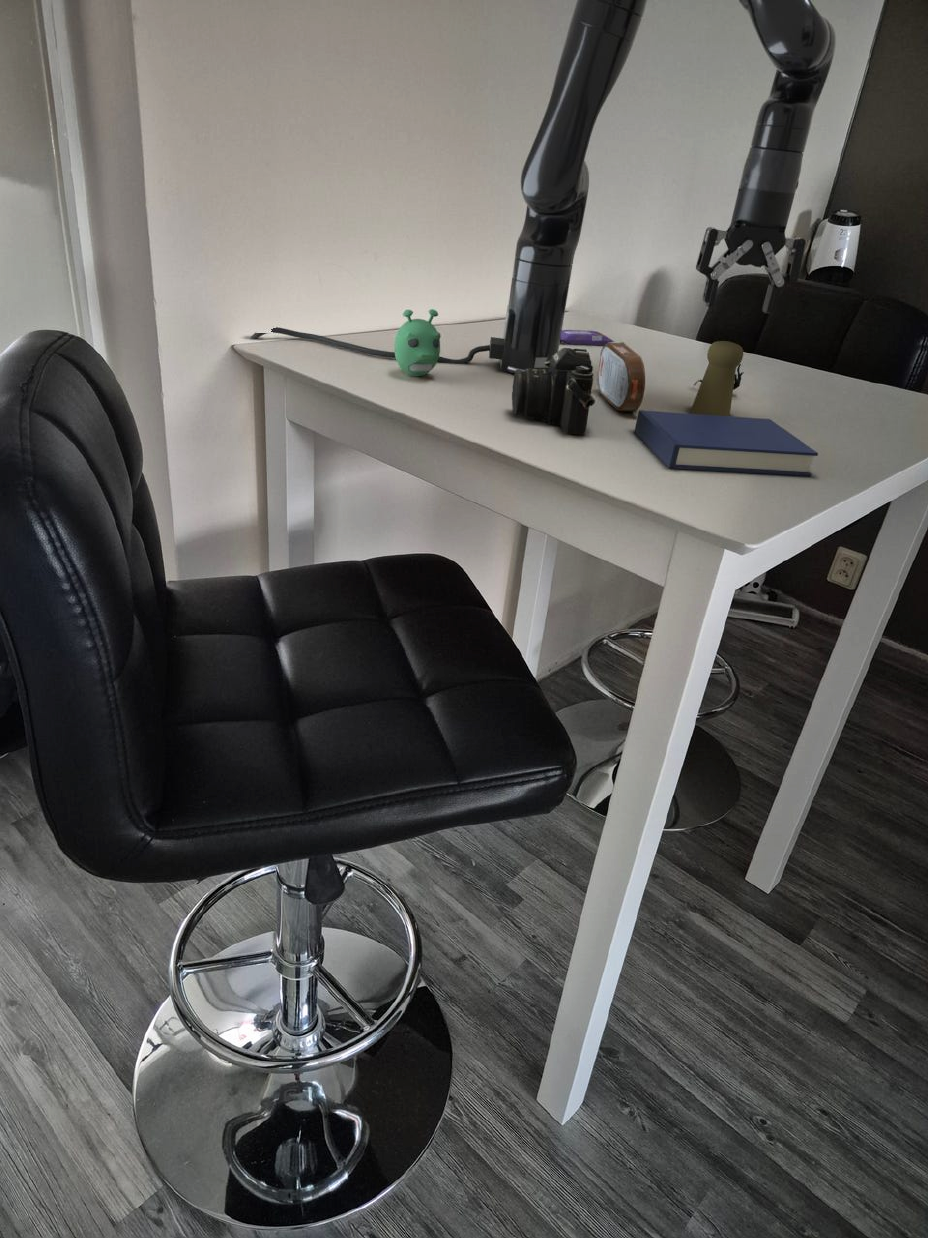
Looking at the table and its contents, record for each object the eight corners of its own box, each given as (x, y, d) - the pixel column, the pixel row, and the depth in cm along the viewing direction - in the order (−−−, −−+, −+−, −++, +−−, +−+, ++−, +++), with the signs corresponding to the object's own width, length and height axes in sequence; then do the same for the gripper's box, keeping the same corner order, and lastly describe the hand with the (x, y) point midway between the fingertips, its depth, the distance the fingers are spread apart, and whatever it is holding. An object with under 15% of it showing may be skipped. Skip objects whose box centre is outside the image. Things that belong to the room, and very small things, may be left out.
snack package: (562, 334, 166) (551, 328, 170) (560, 344, 167) (550, 338, 171) (616, 336, 170) (604, 330, 174) (614, 346, 171) (602, 340, 175)
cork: (706, 421, 133) (725, 347, 127) (682, 408, 138) (699, 337, 132) (737, 420, 135) (757, 347, 130) (713, 408, 140) (731, 337, 135)
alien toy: (403, 383, 132) (408, 314, 127) (386, 369, 138) (390, 302, 133) (446, 383, 135) (453, 315, 130) (427, 369, 141) (433, 304, 136)
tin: (640, 419, 130) (652, 362, 126) (620, 418, 129) (632, 360, 125) (609, 389, 143) (619, 336, 138) (590, 388, 142) (600, 335, 138)
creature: (693, 401, 146) (743, 399, 145) (694, 369, 144) (745, 365, 142) (692, 390, 153) (740, 387, 151) (692, 358, 151) (741, 355, 149)
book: (668, 468, 112) (674, 444, 110) (633, 432, 124) (638, 409, 122) (810, 476, 116) (818, 453, 114) (763, 440, 128) (770, 418, 126)
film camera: (486, 398, 130) (494, 329, 125) (560, 399, 134) (571, 332, 129) (536, 440, 116) (548, 364, 111) (617, 439, 120) (633, 366, 115)
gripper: (809, 190, 124) (777, 309, 132) (710, 179, 124) (684, 299, 132) (827, 194, 118) (793, 319, 126) (723, 182, 117) (695, 308, 125)
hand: (737, 309), depth 129 cm, fingers open, 8 cm apart
